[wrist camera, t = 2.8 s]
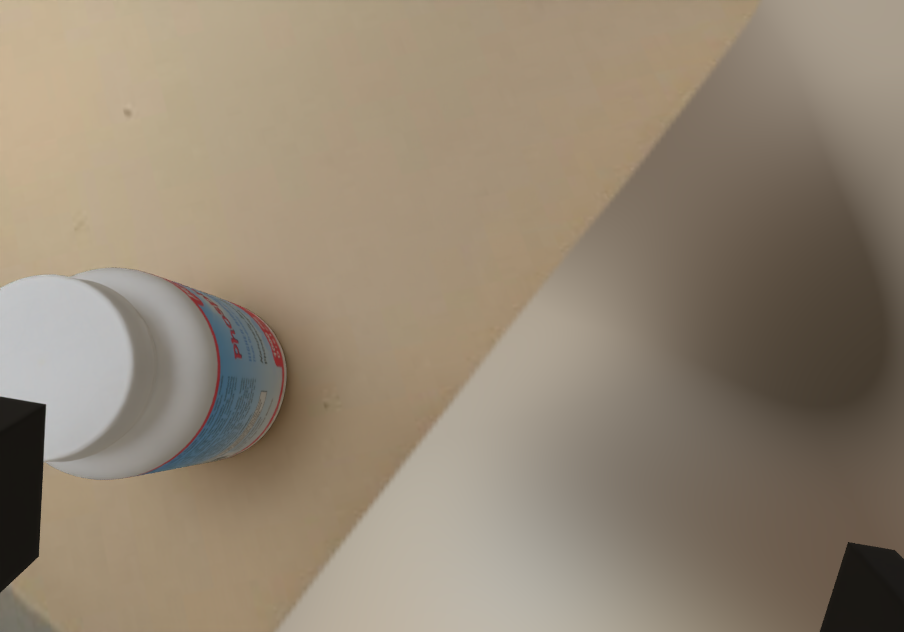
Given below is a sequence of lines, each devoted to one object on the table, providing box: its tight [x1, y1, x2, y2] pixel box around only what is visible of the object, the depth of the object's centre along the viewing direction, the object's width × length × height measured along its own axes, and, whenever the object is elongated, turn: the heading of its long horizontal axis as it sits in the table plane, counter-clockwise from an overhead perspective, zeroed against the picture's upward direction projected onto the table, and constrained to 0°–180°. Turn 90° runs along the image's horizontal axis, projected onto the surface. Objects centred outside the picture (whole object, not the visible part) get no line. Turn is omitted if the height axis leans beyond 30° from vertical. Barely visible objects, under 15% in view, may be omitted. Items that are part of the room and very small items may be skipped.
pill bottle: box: [0, 268, 287, 480], centre depth 24 cm, size 6×6×11 cm
